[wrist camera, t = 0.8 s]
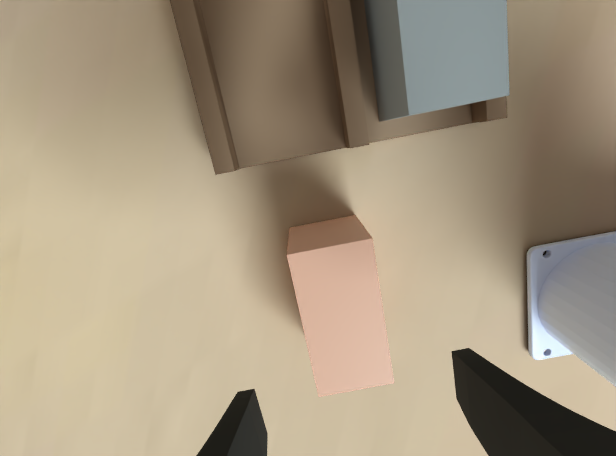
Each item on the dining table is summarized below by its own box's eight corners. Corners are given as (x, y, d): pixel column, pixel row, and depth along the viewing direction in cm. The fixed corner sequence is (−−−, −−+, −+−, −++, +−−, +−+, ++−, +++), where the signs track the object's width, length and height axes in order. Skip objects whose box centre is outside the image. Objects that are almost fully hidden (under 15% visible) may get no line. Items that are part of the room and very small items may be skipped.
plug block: (354, 214, 20) (372, 238, 15) (373, 329, 22) (394, 383, 17) (289, 227, 20) (286, 255, 15) (314, 340, 22) (318, 397, 17)
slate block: (439, -68, 16) (501, -158, 11) (452, 107, 18) (509, 95, 13) (357, -50, 16) (382, -133, 11) (379, 121, 18) (409, 115, 13)
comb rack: (474, -94, 16) (499, -126, 14) (485, 119, 19) (506, 117, 17) (173, -30, 16) (156, -53, 14) (224, 171, 19) (215, 174, 17)
